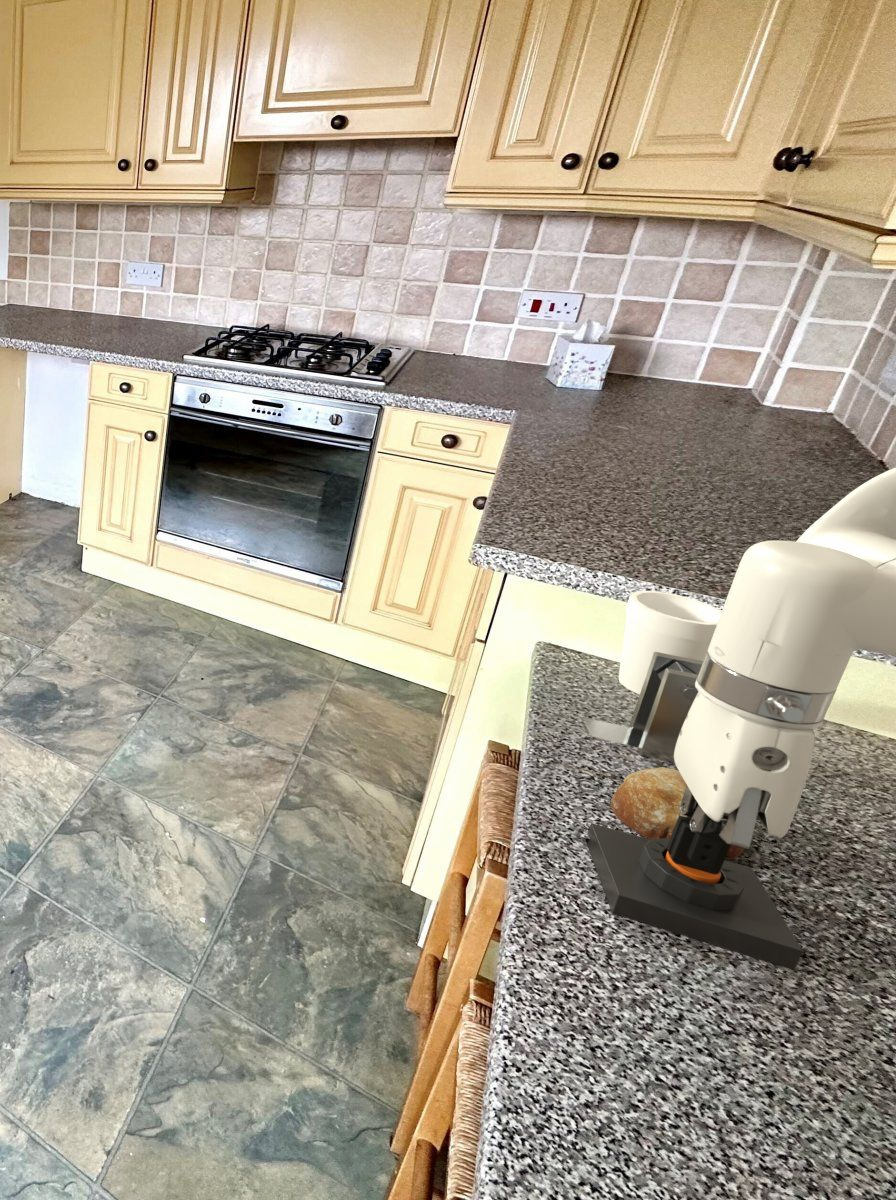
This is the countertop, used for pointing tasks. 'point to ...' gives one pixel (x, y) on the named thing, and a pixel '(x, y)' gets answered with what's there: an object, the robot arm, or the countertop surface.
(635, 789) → the bread roll
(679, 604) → the foam cup
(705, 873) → the button
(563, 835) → the countertop surface
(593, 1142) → the countertop surface
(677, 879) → the control block
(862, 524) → the robot arm
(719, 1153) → the countertop surface
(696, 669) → the metal lever bracket
